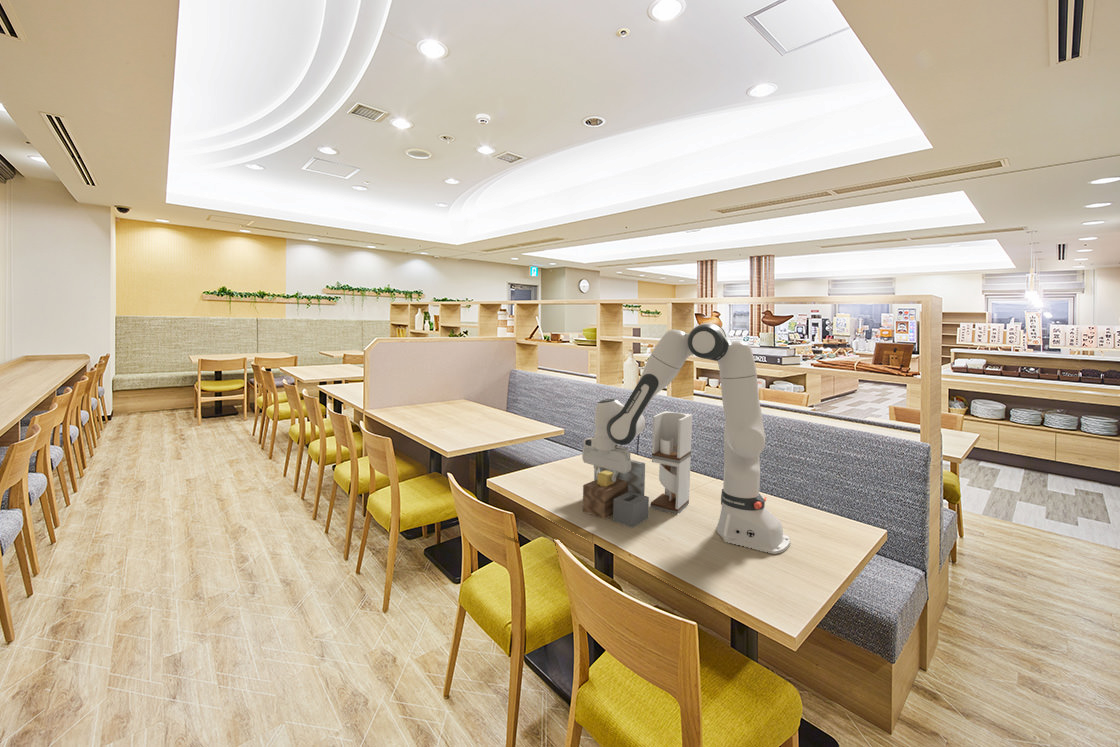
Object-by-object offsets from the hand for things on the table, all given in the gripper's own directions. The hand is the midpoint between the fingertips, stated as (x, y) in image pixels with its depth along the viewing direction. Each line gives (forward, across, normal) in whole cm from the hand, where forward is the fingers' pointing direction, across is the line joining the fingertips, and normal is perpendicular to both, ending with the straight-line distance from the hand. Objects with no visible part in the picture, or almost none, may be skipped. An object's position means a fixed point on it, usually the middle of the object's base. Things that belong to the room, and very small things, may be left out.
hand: (606, 479), depth 174 cm
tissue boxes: (+12, 0, 0) cm, 12 cm away
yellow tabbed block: (+6, 0, 0) cm, 6 cm away
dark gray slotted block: (+12, -12, +1) cm, 17 cm away
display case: (+12, -16, -19) cm, 27 cm away
